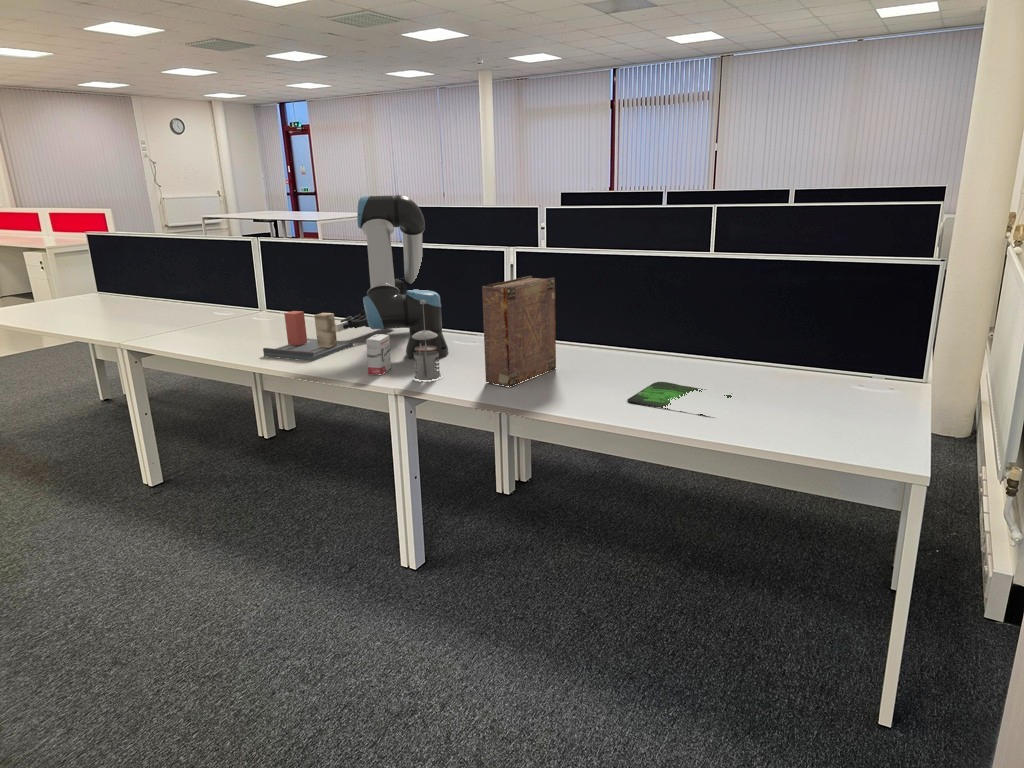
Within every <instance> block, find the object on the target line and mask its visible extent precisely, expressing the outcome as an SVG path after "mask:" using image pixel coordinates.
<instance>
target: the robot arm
mask: <svg viewBox="0 0 1024 768" xmlns="http://www.w3.org/2000/svg"><path fill="white" fill-rule="evenodd" d="M356 210H357V213H356V214H357V217H356V218H357V219H356V220H357V228H358V229H361V232H362V233H363V234H364V235H365V236H366V244H367V256H368V270H369V271H368V272H369V283H370V284H369V285H370V288H369V289H368V290H367V292H366V296H363V298H362V301H363V307H364V309H362V310H361V312H360V313H359V314H357V315H355V316H353V317H352V316H351V315H348V316H347V317H345V318H343V319H341V320H340V322H338V323H335V328H336V333H338V332H339V333H340V332H343V331H345V330H349V329H358V328H362V327H365V328H370V329H371V330H381V331H383V330H389V329H390V330H392V329H405V328H408V329H409V337H408V341H407V345H406V347H405V348H406V349H405V356H406V357H407V358H408V357H409V359H411V358H414V353H415V352H417V351H415V348H416V347H419V346H420V343H421V346H425V340H416V339H413V338H412V336H413V335H414V334H415V333H417V332H419V331H423V330H424V321H425V330H426V331H432V332H434V333H436V334H438V336H437V337H436V338H433V339H429V340H426V344H427V346H436V347H437V349H436V350H435V351H438V353H439V357H438V358H437V359H441V358H444V357H446V356H448V355H449V347H448V344H447V341H446V339H445V336H444V334H443V322H442V309H441V308H442V303H441V296H440V294H439V293H437V292H436V291H434V290H429V289H428V290H419V289H413V290H407V286H410V285H411V284H412V283H413V282H414V281H415V279H416V278H417V275H418V273H419V269H420V266H421V262H422V257H423V233H424V231H425V230H426V223H425V218H424V214H423V212H422V210H421V208H420V207H419V206H418V205H417V204H416V202H415V201H413V199H411V198H409V197H408V196H405V195H401V194H396V195H368V196H367V195H365V196H361V197H360V198H359V199H358V202H357V209H356ZM395 228H399V230H400V231H401V232H402V245H403V246H402V249H403V270H404V271H403V272H404V279H405V283H406V284H407V286H406V285H405V283H404V282H403V281H401V280H399V279H400V278H395V272H394V262H393V261H394V260H393V259H394V258H393V251H392V241H391V237H392V236H391V235H392V234H393V233H394V229H395ZM423 258H424V257H423ZM421 300H425V301H426V304H420V301H421ZM423 306H424V317H423ZM447 354H448V355H447ZM443 356H444V357H443ZM440 357H441V358H440ZM414 359H415V358H414ZM414 359H413V360H414ZM415 360H416V359H415Z"/></svg>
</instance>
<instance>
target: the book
mask: <svg viewBox="0 0 1024 768" xmlns="http://www.w3.org/2000/svg"><path fill="white" fill-rule="evenodd" d="M481 290H482V291H481V293H482V295H481V296H482V314H483V315H482V316H483V317H482V319H483V337H484V338H483V340H484V341H483V343H484V344H483V345H484V366H485V368H484V369H485V370H484V371H485V372H484V373H485V383H486V382H489V383H494V384H499V385H504V386H509V387H510V386H513V385H515V384H518V383H520V382H522V381H525V380H527V379H530V378H532V377H535V376H537V375H540V374H543V373H545V372H547V371H550V370H553V369H555V368H556V369H557V353H556V352H557V351H556V350H557V349H556V348H557V346H556V344H557V343H556V340H557V337H556V335H557V334H556V330H557V329H556V328H557V327H556V278H555V277H550V278H541V277H540V278H539V277H537V278H536V277H533V276H532V275H529V276H523V277H519V278H514V279H509V280H506V281H501V282H496V283H490V284H487V285H482V287H481ZM556 369H555V370H556ZM553 371H554V370H553ZM550 372H551V371H550ZM545 374H546V373H545ZM543 375H544V374H543ZM518 385H519V384H518Z"/></svg>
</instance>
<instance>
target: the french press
mask: <svg viewBox="0 0 1024 768" xmlns="http://www.w3.org/2000/svg"><path fill="white" fill-rule="evenodd" d="M420 304H426V301H425V300H421V301H420ZM423 317H424V306H423ZM437 336H438V334H436V333H434V332H432V331H426V330H425V321H424V330H423V331H419V332H417V333H415V334H414V335H413V336H412V338H413V339H416V340H425V346H421V343H420V346H419V347H416V348H415V351H417V352H415V353H414V358H415V359H413V361H414V363H413V364H414V376H413V377H414V378H415V379H419V380H432V379H437V378H439V377H441V375H442V374H441V372H440V366H439V365H440V358H438V357H439V353H438V351H435V350H436V349H437V347H436V346H427V344H426V340H429V339H433V338H436V337H437ZM435 358H437V359H435Z"/></svg>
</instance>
